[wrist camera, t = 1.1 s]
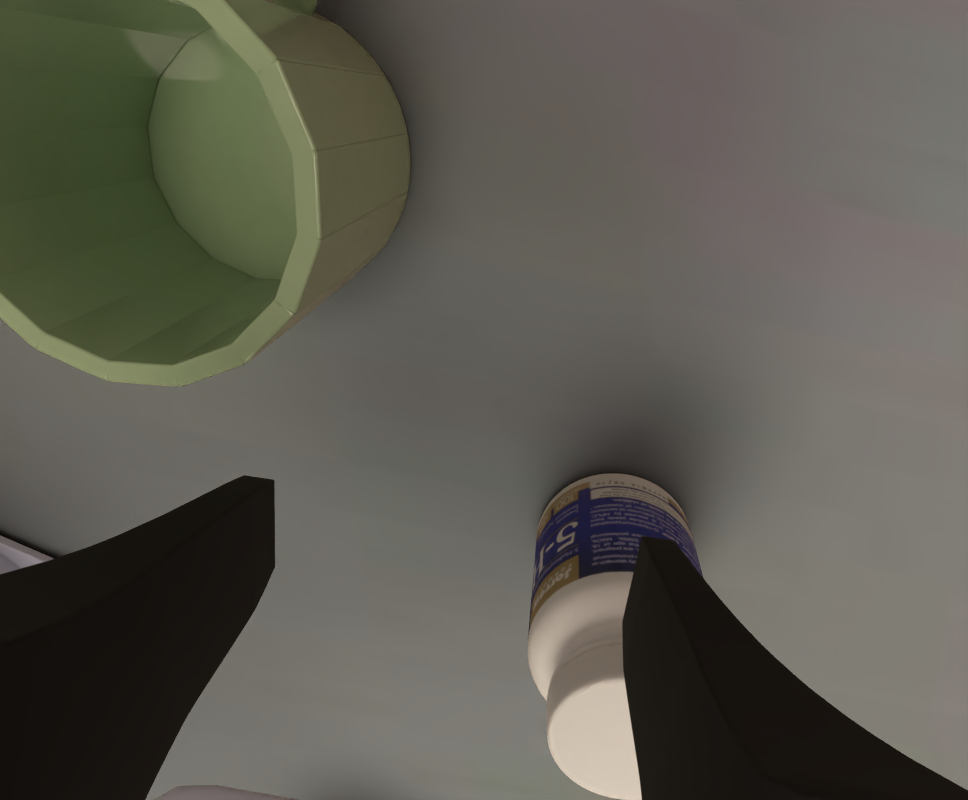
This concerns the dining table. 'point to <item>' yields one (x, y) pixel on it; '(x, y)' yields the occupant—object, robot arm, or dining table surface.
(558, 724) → the pill bottle
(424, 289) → the dining table surface
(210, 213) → the mug
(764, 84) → the dining table surface
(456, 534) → the dining table surface
